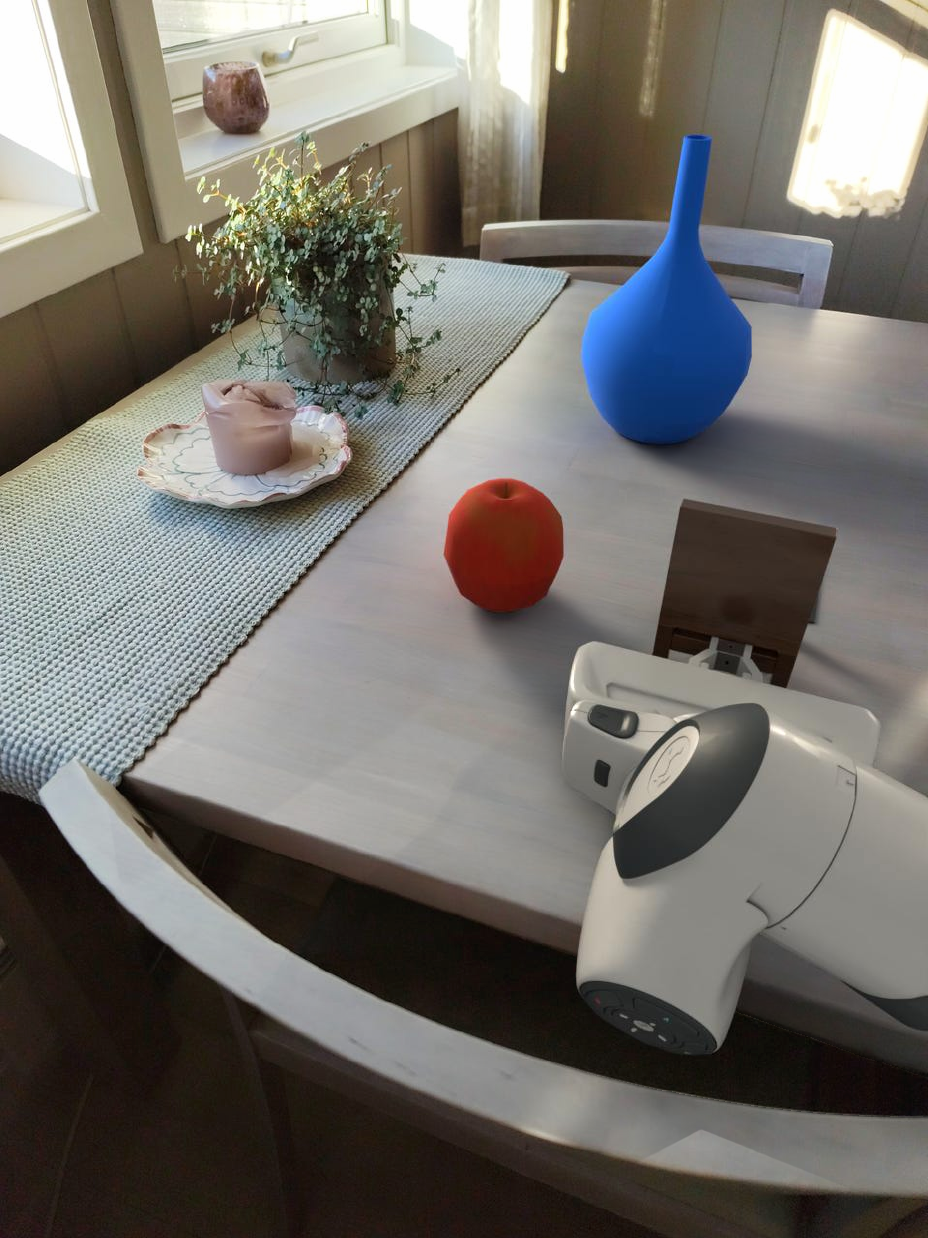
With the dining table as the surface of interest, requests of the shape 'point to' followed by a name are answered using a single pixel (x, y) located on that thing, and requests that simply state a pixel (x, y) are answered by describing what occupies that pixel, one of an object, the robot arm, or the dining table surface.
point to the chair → (742, 584)
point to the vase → (669, 331)
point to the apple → (504, 545)
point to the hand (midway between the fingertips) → (730, 647)
